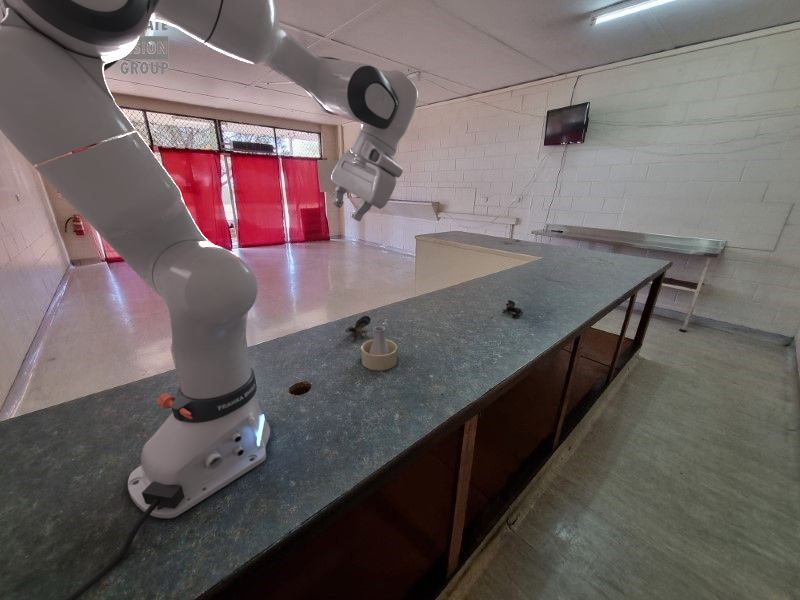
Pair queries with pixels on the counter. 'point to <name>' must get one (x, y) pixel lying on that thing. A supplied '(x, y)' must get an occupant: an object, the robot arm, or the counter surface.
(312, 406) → the counter surface
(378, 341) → the flask
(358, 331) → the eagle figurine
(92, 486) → the counter surface
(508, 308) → the horse figurine
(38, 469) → the counter surface
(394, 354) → the beige round bowl
